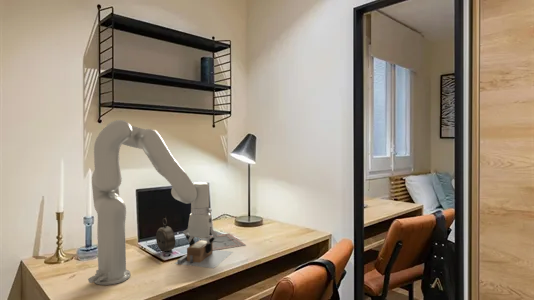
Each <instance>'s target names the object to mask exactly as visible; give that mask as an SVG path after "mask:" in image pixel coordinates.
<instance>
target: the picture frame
mask: <svg viewBox="0 0 534 300" xmlns="http://www.w3.org/2000/svg"><path fill="white" fill-rule="evenodd" d="M212 237H213V235H211V238H212ZM200 239H201V240H206V239H205V238H199V240H200ZM212 245H213V251H214V250H221V251H222V250H227V249H231V248H239V247H244V246H246V244H245V243H244V242H242V241H241V240H239V239H238V238H236V237H235V236H234V235H233V234H231V233H224V234H223V233H222V234H218V236H217V237H216V238H215V240H214V241H213V242H212Z"/></svg>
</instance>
